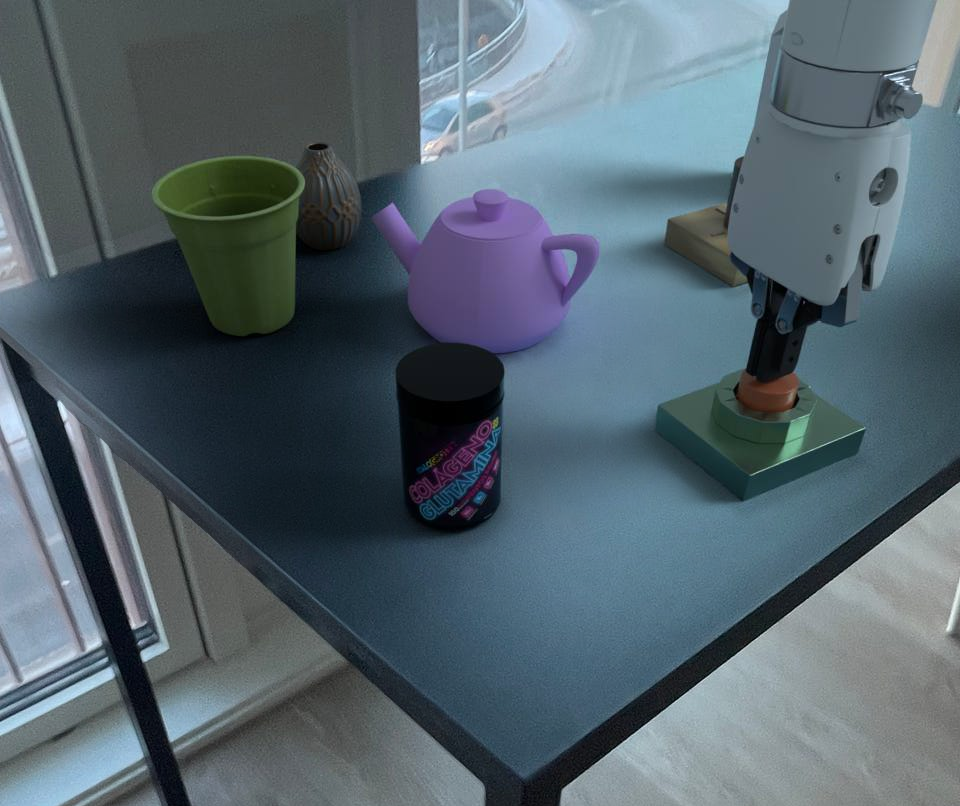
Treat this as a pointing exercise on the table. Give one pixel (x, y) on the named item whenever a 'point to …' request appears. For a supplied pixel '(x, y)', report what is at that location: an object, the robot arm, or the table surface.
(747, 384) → the push button
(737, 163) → the dial
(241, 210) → the plant pot
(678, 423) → the button housing
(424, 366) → the supplement container
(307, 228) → the vase
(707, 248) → the dial panel
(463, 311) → the teapot
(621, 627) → the table surface
